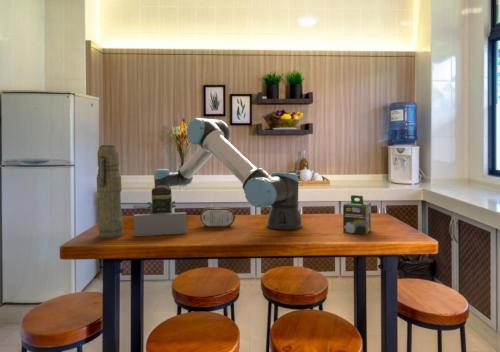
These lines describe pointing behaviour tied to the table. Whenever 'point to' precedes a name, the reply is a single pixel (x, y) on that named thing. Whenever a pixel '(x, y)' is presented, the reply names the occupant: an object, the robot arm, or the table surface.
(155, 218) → the board
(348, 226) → the chalk box
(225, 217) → the tin
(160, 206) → the coffee jar
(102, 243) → the table surface
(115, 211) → the carved stone statue
